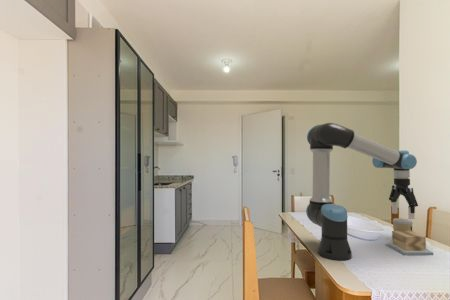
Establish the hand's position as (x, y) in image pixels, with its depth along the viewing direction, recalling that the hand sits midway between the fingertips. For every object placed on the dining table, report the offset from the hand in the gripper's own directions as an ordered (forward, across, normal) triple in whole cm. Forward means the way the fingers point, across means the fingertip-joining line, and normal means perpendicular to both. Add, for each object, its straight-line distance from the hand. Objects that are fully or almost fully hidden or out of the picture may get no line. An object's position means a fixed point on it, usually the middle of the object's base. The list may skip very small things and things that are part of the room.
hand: (402, 216), depth 148 cm
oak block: (+13, -13, +6) cm, 19 cm away
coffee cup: (+14, 0, 0) cm, 14 cm away
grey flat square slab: (+14, -13, +6) cm, 20 cm away
